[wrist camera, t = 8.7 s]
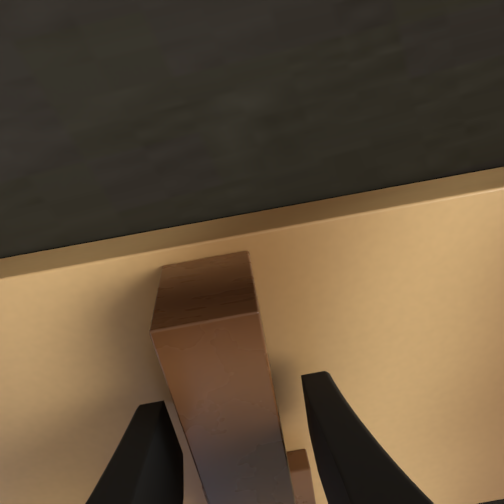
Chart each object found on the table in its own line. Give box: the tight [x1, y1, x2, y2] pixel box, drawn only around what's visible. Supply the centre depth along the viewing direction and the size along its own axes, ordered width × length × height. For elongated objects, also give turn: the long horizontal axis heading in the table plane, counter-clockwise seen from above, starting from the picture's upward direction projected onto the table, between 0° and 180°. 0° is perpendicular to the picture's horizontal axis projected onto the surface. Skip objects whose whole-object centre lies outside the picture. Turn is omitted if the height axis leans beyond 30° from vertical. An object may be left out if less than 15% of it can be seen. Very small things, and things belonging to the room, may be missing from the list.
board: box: [0, 167, 504, 504], centre depth 13 cm, size 18×12×1 cm, turn 99°
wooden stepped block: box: [149, 251, 316, 504], centre depth 11 cm, size 11×3×2 cm, turn 9°
